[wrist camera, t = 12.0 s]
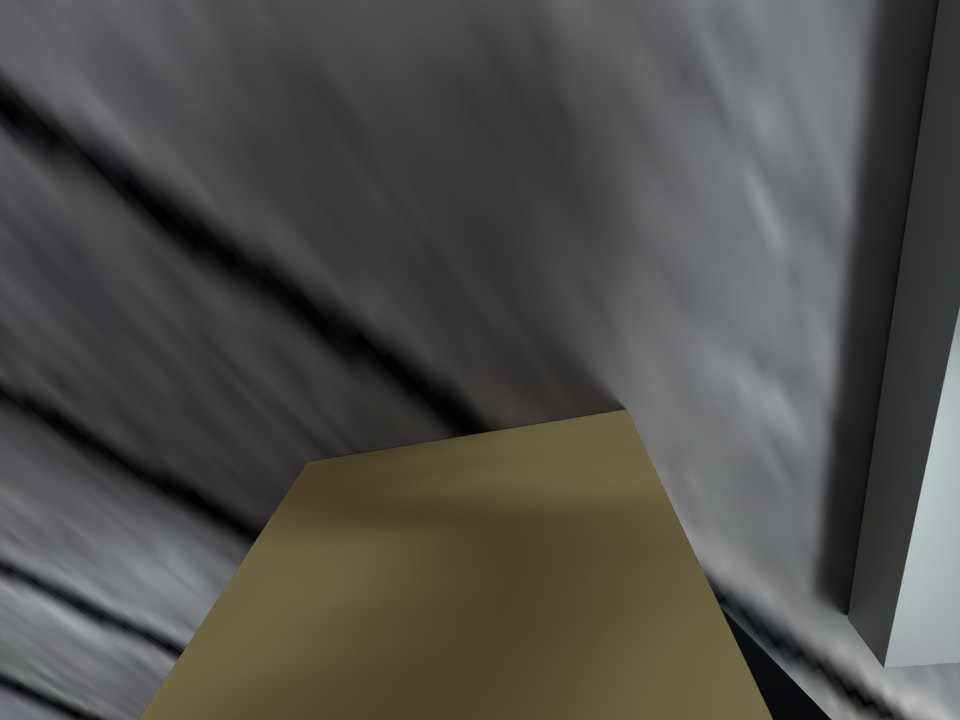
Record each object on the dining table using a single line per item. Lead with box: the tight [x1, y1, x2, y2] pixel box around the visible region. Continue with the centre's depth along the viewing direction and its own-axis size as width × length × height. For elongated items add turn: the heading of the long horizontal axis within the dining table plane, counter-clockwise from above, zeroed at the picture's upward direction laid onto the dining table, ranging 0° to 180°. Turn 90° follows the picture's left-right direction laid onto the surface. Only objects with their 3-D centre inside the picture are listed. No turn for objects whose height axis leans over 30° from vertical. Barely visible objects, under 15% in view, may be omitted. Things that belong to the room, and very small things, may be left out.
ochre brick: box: [139, 409, 773, 720], centre depth 7 cm, size 6×6×5 cm
